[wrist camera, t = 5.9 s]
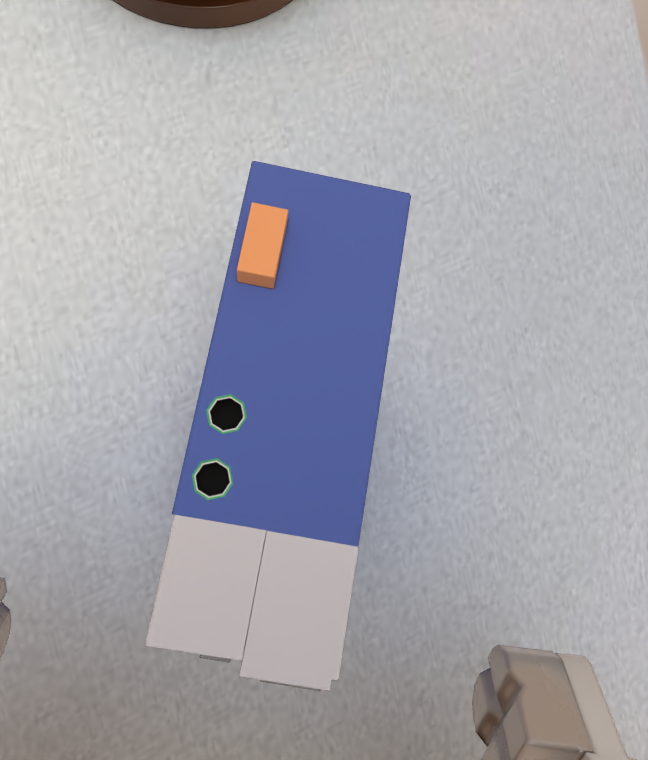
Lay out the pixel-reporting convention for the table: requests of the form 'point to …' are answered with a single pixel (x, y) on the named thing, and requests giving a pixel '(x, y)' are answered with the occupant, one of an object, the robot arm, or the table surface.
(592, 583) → the table surface
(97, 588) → the table surface
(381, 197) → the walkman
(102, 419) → the table surface
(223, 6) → the brown round disc
